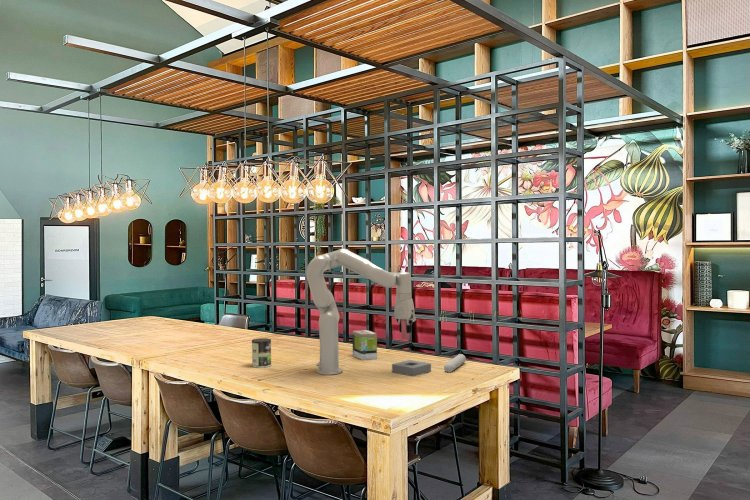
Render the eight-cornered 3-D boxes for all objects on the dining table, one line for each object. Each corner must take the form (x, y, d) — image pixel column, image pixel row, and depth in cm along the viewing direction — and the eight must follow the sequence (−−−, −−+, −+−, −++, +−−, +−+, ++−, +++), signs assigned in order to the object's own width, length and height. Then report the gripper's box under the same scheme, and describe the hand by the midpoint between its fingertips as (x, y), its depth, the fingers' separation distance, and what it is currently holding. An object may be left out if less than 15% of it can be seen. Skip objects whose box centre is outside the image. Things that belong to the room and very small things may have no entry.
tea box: (377, 359, 326) (377, 332, 326) (361, 360, 322) (360, 334, 322) (368, 354, 340) (367, 329, 339) (352, 355, 336) (351, 330, 336)
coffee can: (274, 364, 316) (273, 338, 315) (267, 368, 305) (266, 341, 305) (256, 363, 318) (256, 337, 317) (248, 367, 307) (248, 341, 307)
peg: (400, 338, 292) (399, 315, 292) (405, 337, 295) (404, 314, 295) (406, 339, 290) (405, 315, 289) (411, 338, 293) (410, 314, 292)
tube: (453, 365, 288) (467, 356, 311) (444, 361, 290) (458, 352, 313) (450, 375, 289) (464, 365, 312) (441, 371, 291) (455, 361, 314)
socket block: (392, 372, 292) (392, 364, 292) (409, 367, 303) (409, 359, 303) (413, 376, 283) (413, 368, 283) (430, 371, 293) (430, 363, 293)
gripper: (387, 296, 295) (388, 332, 295) (412, 297, 284) (413, 334, 284) (396, 295, 301) (397, 330, 301) (421, 296, 289) (423, 332, 289)
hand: (405, 332), depth 292 cm, fingers closed on peg, 4 cm apart
